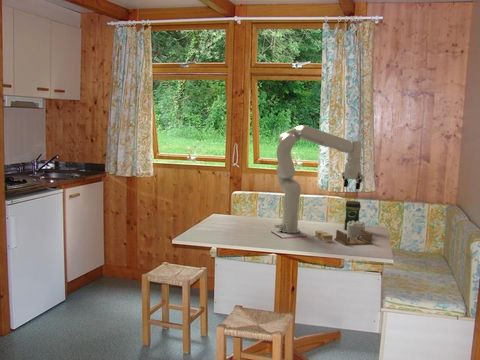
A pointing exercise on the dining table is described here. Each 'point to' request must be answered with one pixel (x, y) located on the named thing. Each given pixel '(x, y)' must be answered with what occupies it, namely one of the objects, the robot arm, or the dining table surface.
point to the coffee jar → (352, 212)
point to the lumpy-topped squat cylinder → (354, 228)
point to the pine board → (323, 236)
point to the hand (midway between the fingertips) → (351, 188)
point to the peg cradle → (360, 240)
